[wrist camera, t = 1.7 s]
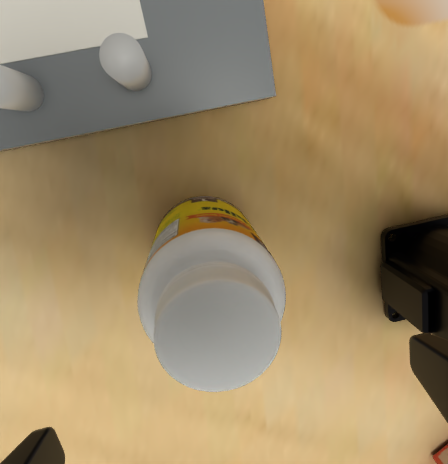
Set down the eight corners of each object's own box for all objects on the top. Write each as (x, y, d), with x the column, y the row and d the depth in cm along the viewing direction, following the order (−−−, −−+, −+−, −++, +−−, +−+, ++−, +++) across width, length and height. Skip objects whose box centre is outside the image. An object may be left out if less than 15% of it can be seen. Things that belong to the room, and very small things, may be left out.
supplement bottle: (269, 234, 21) (344, 326, 11) (208, 300, 21) (227, 442, 12) (198, 172, 19) (209, 214, 9) (135, 246, 20) (86, 356, 10)
